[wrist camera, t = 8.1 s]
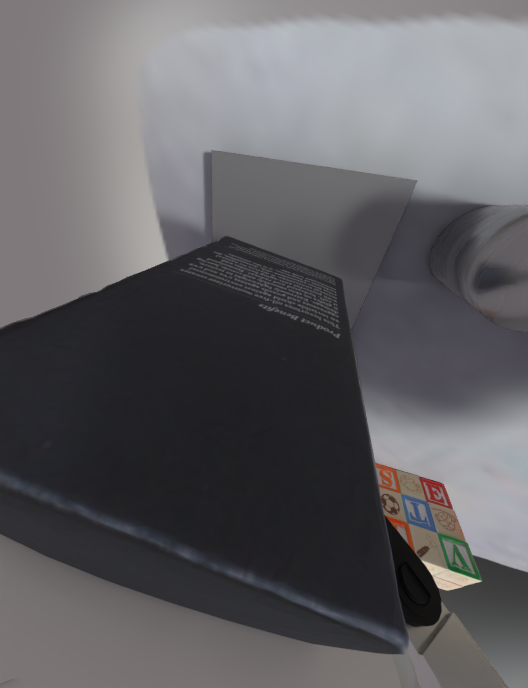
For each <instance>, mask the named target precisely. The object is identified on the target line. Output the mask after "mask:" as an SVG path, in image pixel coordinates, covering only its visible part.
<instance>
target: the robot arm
mask: <svg viewBox="0 0 528 688" xmlns="http://www.w3.org/2000/svg"><path fill="white" fill-rule="evenodd" d="M384 516H385V515H384ZM385 521H386V526H387V531H388V536H389V541H390V546H391V551H392V556H393V562H394V568H395V574H396V580H397V587H398V593H399V598H400V603H401V607H402V611H403V615H404V619H405V623H406V627H407V631H408V635H409V650H408V651H407V652H406V653H405V654H404V655H402V654H379V653H371V652H364V651H357V650H350V649H343V648H336V647H330V646H323V645H317V644H311V643H307V642H303V641H299V640H296V639H292V638H288V637H284V636H281V635H277V634H273V633H270V632H266V631H263V630H259V629H256V628H252V627H248V626H245V625H241V624H238V623H234V622H231V621H227V620H224V619H221V618H217V617H214V616H211V615H208V614H205V613H202V612H199V611H195V610H192V609H189V608H186V607H183V606H180V605H176V604H173V603H170V602H167V601H164V600H161V599H158V598H155V597H152V596H149V595H146V594H143V593H140V592H138V591H135V590H132V589H129V588H126V587H123V586H120V585H118V584H115V583H112V582H109V581H106V580H104V579H101V578H99V577H96V576H94V575H91V574H89V573H86V572H84V571H81V570H79V569H76V568H74V567H72V566H69V565H67V564H64V563H62V562H59V561H57V560H54V559H52V558H49V557H47V556H45V555H43V554H41V553H39V552H37V551H34V550H32V549H30V548H28V547H26V546H24V545H22V544H20V543H18V542H16V541H14V540H12V539H10V538H8V537H6V536H3V535H1V534H0V688H508V686H507V685H506V684H505V682H504V681H503V679H502V678H501V677H500V675H499V674H498V673H497V671H496V670H495V669H494V667H493V666H492V664H491V663H490V662H489V660H488V659H487V658H486V656H485V655H484V653H483V652H482V651H481V649H480V648H479V647H478V645H477V644H476V643H475V641H474V640H473V638H472V637H471V636H470V635H469V633H468V632H467V630H466V629H465V627H464V626H463V625H462V623H461V622H460V621H459V619H458V618H457V616H456V615H455V614H454V613H449V611H448V610H447V609H446V607H445V606H444V604H443V603H442V602H441V597H440V594H439V590H438V587H437V585H436V583H435V581H434V578H433V576H432V575H431V573H430V572H429V570H428V569H427V567H426V566H425V564H424V563H423V562H422V561H421V559H420V558H419V557H418V556H417V554H416V553H415V552H414V551H413V550H412V548H411V547H410V546H409V545H408V543H407V542H406V541H405V540H404V538H403V537H402V536H401V535H400V533H399V532H398V531H397V530H396V528H395V527H394V526H393V525H392V523H391V522H390V521H389V520H388V518H387V517H386V516H385Z"/></svg>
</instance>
